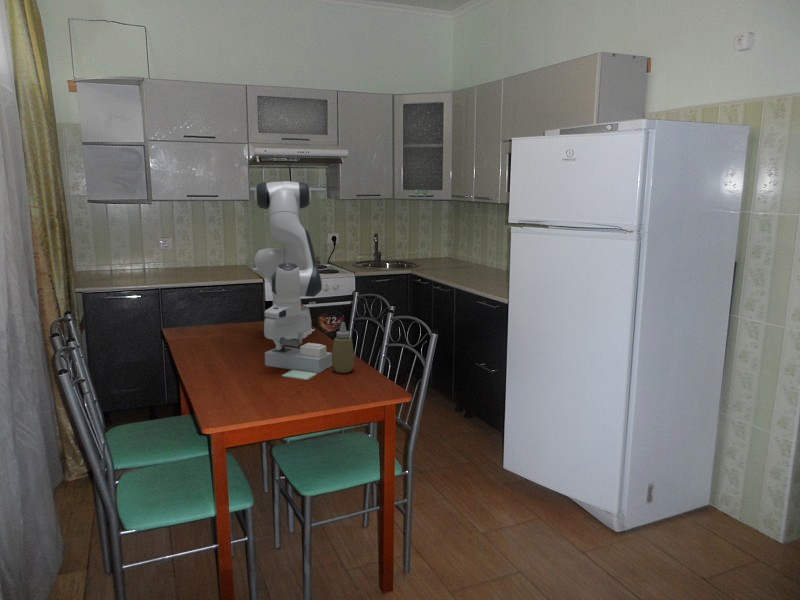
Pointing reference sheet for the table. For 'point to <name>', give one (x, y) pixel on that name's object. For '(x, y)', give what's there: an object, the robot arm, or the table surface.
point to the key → (289, 343)
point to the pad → (299, 374)
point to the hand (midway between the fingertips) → (289, 346)
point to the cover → (313, 349)
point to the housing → (297, 360)
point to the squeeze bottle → (343, 351)
